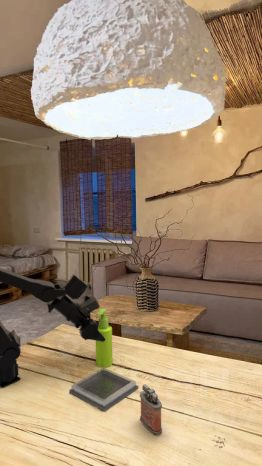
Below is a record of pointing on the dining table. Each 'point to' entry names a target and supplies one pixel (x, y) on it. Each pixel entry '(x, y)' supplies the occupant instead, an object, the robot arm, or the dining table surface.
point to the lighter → (150, 410)
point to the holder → (103, 388)
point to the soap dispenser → (104, 347)
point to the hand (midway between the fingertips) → (101, 335)
